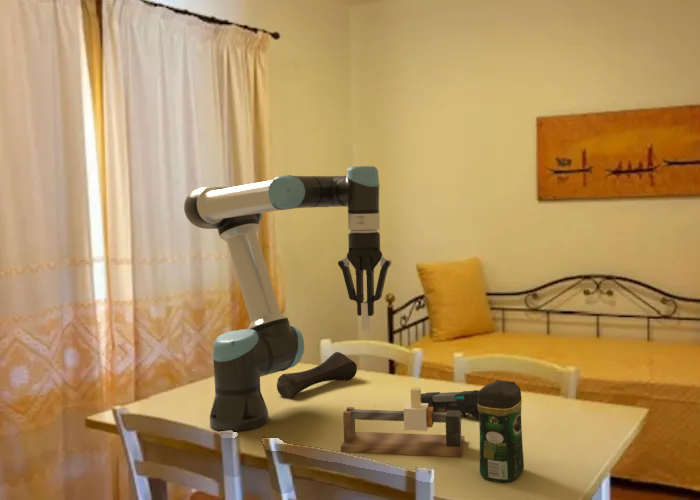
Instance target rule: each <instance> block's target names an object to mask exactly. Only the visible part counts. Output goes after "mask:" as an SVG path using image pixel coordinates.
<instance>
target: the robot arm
mask: <svg viewBox="0 0 700 500" xmlns="http://www.w3.org/2000/svg"><path fill="white" fill-rule="evenodd" d="M332 207H333V208H337V207H338V208H339V207H347V223H348V224H347V226H348V227H347V229H348V230H349V231H350V232H349V233H348V234H347V235H348V237H347V238H348V251H347V253H346V257H344V258H342V259H341V260H338V262H337V264H338V266H339V268H340V269H341V271H342V275H343V280H344V282H345V283H344V284H345V286H346V291H347V294H348V299H349V300H350V301H354V302H355V303H356V313H357V316H360V317H361V321H360V322H361V331H369V330H370V329H371V317H373V316H374V313H375V302H377V301H379V300H380V299H382V295H383V291H384V286H385V282H386V279H387V274H388V269H389V268H390V266H391V265H392V260H391V259H387V258H386V257H384V256H383V253H382V251H381V233H380V232H379V230H380V229H381V225H380V224H381V223H380V179H379V170H378V168H377V167H376V166H375V165H373V166H372V165H369V166H368V165H366V166H365V165H364V166H363V165H361V166H349V167H348V168H347V170H346V174H345V175H308V176H307V175H305V176H304V175H291V174H287V175H286V174H285V175H281V176H279V175H278V176H276V177H274V179H270V180H264V181H259V182H254V183H252V182H251V183H249V184H248V183H247V184H242V185H235V186H203V187H197V188H196V189H193V190H191V192H190V193H189V194H188V195H187V196H186V198H185V201H184V205H183V208H184V209H183V210H184V213H185V216H186V219H187V220H188V221H189V222H190V223H191V224H192V225H193V226H195V227H197V228H201V229H204V230H205V229H206V230H212V229H213V230H214V229H217V231H218V235H219V238H220V239H221V240H223V241H224V242H226V243H227V247H228V250H229V253H230V257H231V260H232V264H233V266H234V270H235V274H236V276H237V277H236V278H237V281H238V283H239V284H238V285H239V287H240V292H241V294H242V298H243V300H244V304H245V308H246V311H247V314H248V317H249V320H250V324H249V326H248V327H247V328H242V329H238V330H231V331H228V332H225V333H222V334H220V335H218V336H217V337H215V339H214V341H213V344H212V361H213V374H214V375H213V377H214V394H215V395H214V397H213V402H212V407H211V409H210V410H211V411H210V414H209V427H211V428H212V429H214V430H216V431H217V430H218V431H221V430H234V431H233V432H239V431H248V430H253V429H256V428H260V427H262V426H264V425H265V424H267V423H268V422H269V420H270V419H269V410H268V407H267V405H266V402H265V399H264V396H263V394H262V391H261V377H264V376H265V377H266V376H268V375H272V374H275V373H279V372H284V371H287V370H288V369H289V370H290V369H291V368H293V367H295V366H297V365H298V364H299V363H300V362H301V360H302V359H303V357H302V356H303V355H304V352H305V340H304V339H305V338H304V336H303V334H302V332H301V330H300V329H298V328H297V327H296V326H294V325H291V324H290V321H289V317H288V316H286V315H285V314H283V313H282V312H281V309H280V306H279V303H278V300H277V297H276V294H275V290H274V287H273V283H272V281H271V278H270V274H269V271H268V267H267V264H266V261H265V258H264V254H263V251H262V248H261V244H260V242H259V238H258V233H257V232H258V231H259V230H260V227H261V226H260V222H261V220H262V217H263V213H264V214H265V213H272V212H277V211H286V210H287V211H288V210H293V209H304V208H305V209H307V208H311V209H312V208H332ZM379 262H380V264H379ZM350 263H351V265H352V267H353V268H354V269H355V270H354V272H355V285H356V286H355V285H354V281H353V277H352V272H351V270H350V267H349V266H350ZM378 264H379V265H380V267H381V268H380V271H379V275H378V279H377V285H376V289H375V282H374V281H375V280H374V279H375V276H374V274H375V269H376V267H377V266H378ZM364 271H365V274H366V301H365V298H364V291H365V290H364V289H365V288H364Z"/></svg>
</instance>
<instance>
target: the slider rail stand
mask: <svg viewBox="0 0 700 500" xmlns="http://www.w3.org/2000/svg"><path fill="white" fill-rule="evenodd" d="M345 409H346V411H345V410H344V411H343V413H342V415H343V416H342V417H343V419H342V420H343V439H344V440H343V442H342V443H341V445H340V452H343V451H344V452H345V453H347V452H348V453H367V454H368V453H369V454H386V455H387V454H390V455H407V456H408V455H410V456H430V457H431V456H432V457H450V458H451V457H453V458H454V457H457V458H463V457H462V456H463V451H464V447H465V439H466V438H465V435H462V419H461V417H462V416H461V415H462V413H461V411H457V410H447V411H434V410H433V407H429V408H428V410H427V426H428V428H433V426H434V423H438V424H439V423H441V424H442V423H445V434H428V433H427V434H426V433H425V434H424V433H403V432H402V433H401V432H400V433H399V432H398V433H396V432H379V431H378V432H377V431H376V432H374V431H356V420H360V421H383V422H384V421H385V422H387V421H388V422H404V410H386V409H385V410H384V409H383V410H379V409H355V407H354V406H347V407H346V408H345Z"/></svg>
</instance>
